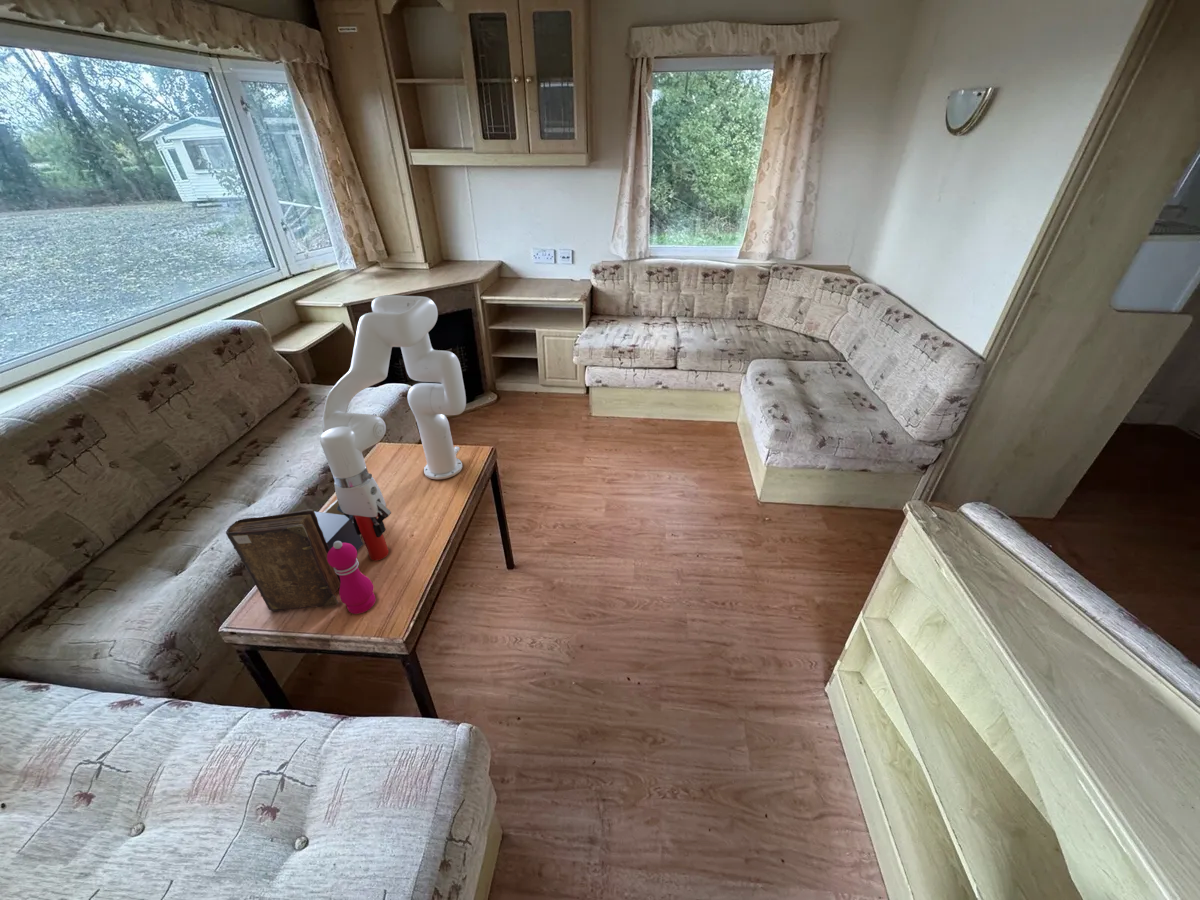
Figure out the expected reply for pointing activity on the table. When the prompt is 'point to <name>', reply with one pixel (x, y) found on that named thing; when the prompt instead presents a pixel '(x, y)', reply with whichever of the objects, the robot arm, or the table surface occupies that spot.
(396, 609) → the table surface
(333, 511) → the drawer
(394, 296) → the robot arm
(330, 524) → the dark blue angular piece
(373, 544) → the ketchup bottle
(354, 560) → the pepper mill
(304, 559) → the book
